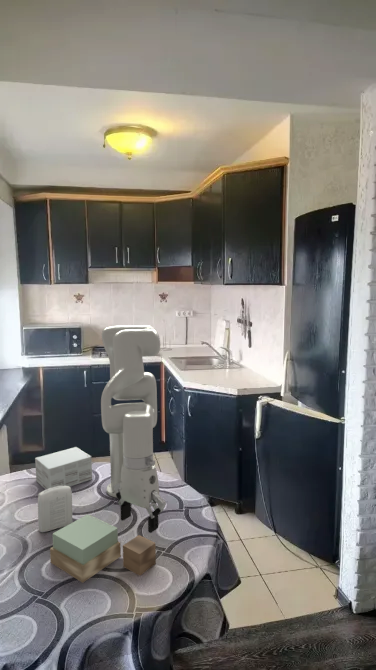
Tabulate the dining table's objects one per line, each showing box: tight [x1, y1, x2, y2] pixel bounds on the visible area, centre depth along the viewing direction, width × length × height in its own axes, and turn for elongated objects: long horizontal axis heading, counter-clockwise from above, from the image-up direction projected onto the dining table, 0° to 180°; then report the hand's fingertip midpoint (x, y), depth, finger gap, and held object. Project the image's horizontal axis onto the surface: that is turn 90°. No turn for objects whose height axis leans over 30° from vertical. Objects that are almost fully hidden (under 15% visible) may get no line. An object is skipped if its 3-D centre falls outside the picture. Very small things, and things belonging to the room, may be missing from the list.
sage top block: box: [52, 514, 119, 565], centre depth 116 cm, size 12×12×4 cm
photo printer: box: [37, 486, 74, 533], centre depth 131 cm, size 10×4×12 cm, turn 123°
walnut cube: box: [122, 534, 157, 577], centre depth 113 cm, size 6×6×6 cm
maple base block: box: [49, 541, 122, 584], centre depth 116 cm, size 13×13×4 cm
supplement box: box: [34, 446, 93, 490], centre depth 162 cm, size 17×13×9 cm
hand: (139, 524), depth 112 cm, fingers open, 9 cm apart
